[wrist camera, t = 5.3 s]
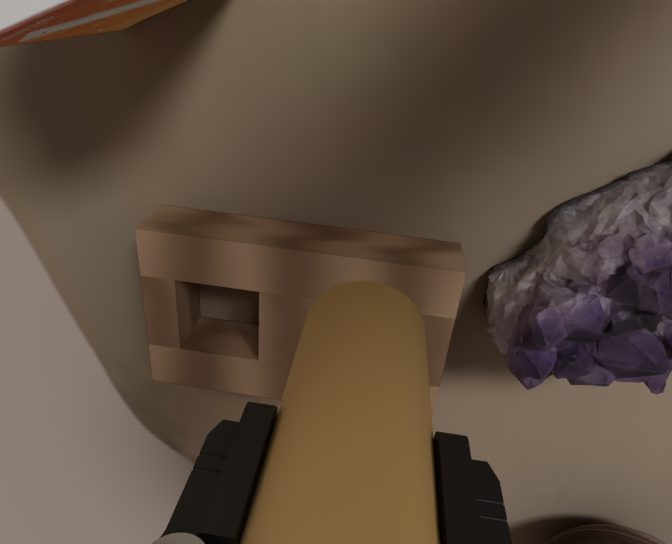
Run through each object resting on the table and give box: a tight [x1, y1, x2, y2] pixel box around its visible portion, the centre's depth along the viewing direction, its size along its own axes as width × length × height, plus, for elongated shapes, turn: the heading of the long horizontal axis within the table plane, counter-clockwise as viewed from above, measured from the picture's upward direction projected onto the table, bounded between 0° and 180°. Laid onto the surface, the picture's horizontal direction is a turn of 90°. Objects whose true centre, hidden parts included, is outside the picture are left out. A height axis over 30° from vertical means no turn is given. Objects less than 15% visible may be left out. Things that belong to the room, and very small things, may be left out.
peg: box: [239, 280, 441, 544], centre depth 11 cm, size 4×4×14 cm
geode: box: [483, 158, 672, 394], centre depth 28 cm, size 20×12×10 cm, turn 127°
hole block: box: [135, 205, 466, 415], centre depth 35 cm, size 20×12×4 cm, turn 85°
